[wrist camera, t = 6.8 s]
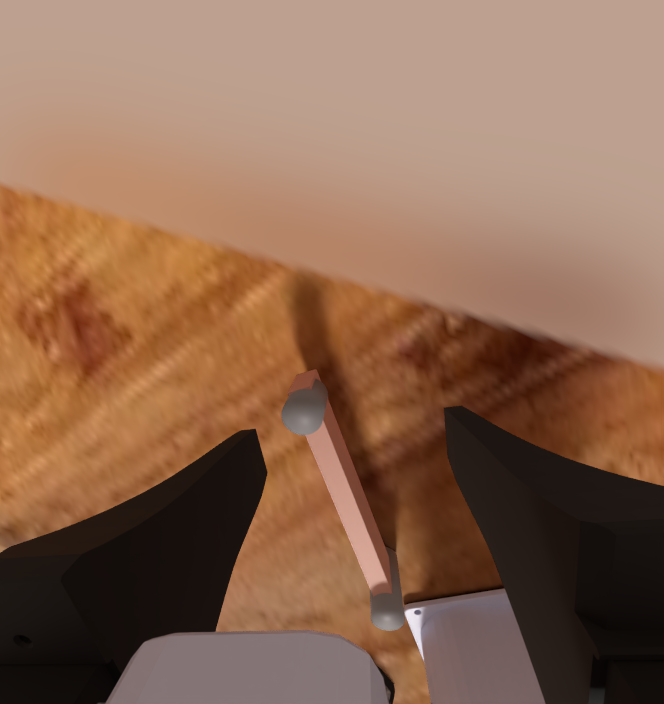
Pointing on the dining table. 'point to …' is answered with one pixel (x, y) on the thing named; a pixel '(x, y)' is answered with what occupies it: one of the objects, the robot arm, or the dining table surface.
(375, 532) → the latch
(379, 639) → the dining table surface
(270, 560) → the dining table surface
